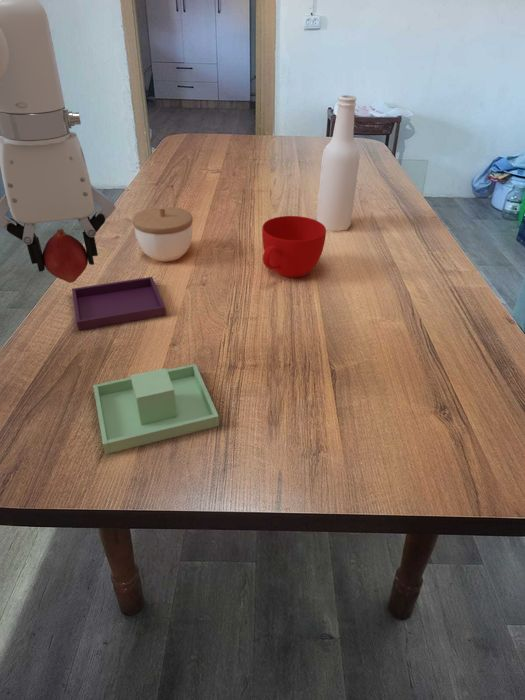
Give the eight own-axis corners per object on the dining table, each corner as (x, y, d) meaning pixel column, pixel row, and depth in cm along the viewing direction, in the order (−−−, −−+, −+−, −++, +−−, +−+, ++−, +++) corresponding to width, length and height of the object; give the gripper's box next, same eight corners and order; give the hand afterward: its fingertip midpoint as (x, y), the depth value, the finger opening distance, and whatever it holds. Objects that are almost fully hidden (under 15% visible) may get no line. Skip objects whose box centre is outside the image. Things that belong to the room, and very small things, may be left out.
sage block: (141, 425, 67) (136, 398, 64) (135, 401, 71) (130, 375, 68) (177, 416, 69) (174, 389, 66) (169, 394, 72) (166, 367, 69)
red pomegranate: (40, 286, 69) (25, 232, 64) (68, 269, 73) (56, 217, 69) (73, 295, 67) (61, 240, 63) (100, 277, 72) (90, 224, 67)
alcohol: (326, 235, 122) (340, 101, 104) (309, 222, 128) (320, 94, 110) (356, 230, 125) (375, 99, 107) (338, 217, 131) (353, 92, 113)
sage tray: (105, 456, 63) (102, 444, 62) (95, 396, 72) (93, 384, 71) (219, 428, 68) (218, 416, 66) (196, 375, 77) (195, 363, 75)
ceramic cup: (238, 282, 101) (237, 236, 95) (282, 253, 113) (284, 211, 107) (291, 301, 96) (294, 254, 90) (332, 269, 107) (337, 225, 101)
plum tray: (79, 333, 85) (76, 321, 84) (74, 299, 94) (71, 288, 93) (166, 317, 90) (165, 307, 88) (153, 286, 99) (152, 276, 98)
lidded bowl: (200, 246, 114) (198, 200, 108) (186, 271, 104) (182, 221, 98) (148, 242, 116) (143, 195, 109) (129, 266, 106) (121, 216, 99)
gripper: (106, 115, 63) (125, 245, 74) (-44, 121, 58) (0, 260, 69) (113, 128, 58) (133, 267, 68) (-52, 136, 53) (-3, 285, 63)
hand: (66, 262), depth 69 cm, fingers closed on red pomegranate, 5 cm apart
